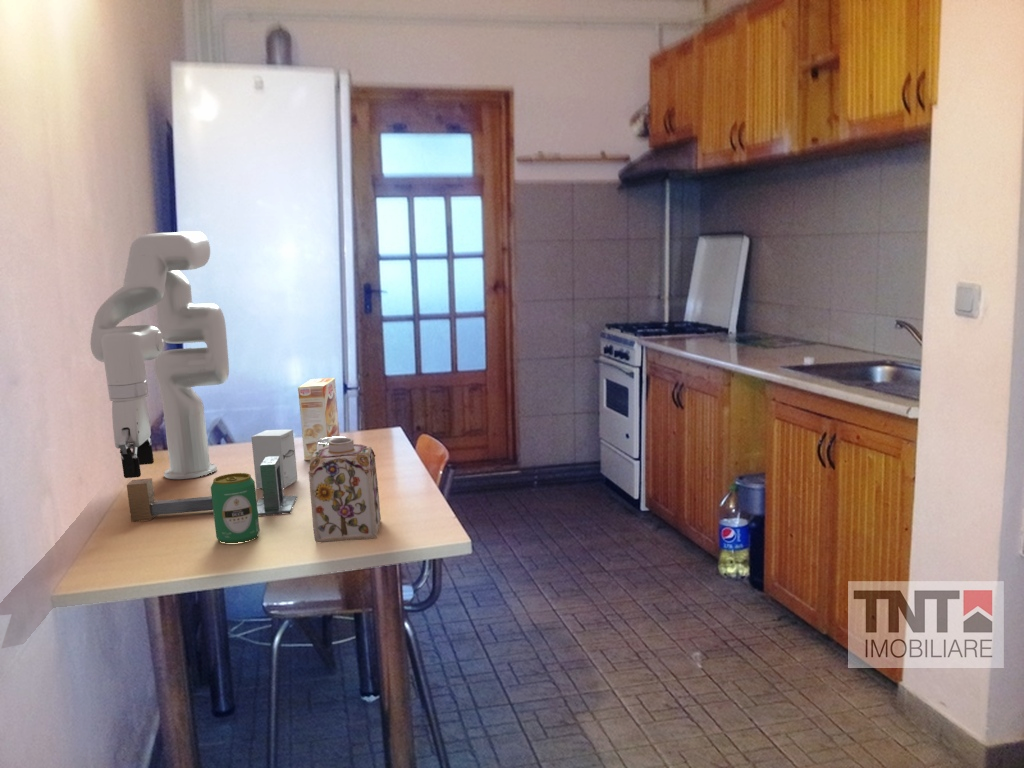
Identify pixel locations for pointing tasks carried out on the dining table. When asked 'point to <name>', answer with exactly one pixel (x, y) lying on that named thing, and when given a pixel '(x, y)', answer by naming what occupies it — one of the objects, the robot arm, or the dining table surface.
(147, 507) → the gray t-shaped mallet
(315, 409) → the coffeecake box
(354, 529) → the decorative jar
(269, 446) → the supplement box
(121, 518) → the dining table surface
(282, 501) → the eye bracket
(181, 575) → the dining table surface
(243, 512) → the beverage can
